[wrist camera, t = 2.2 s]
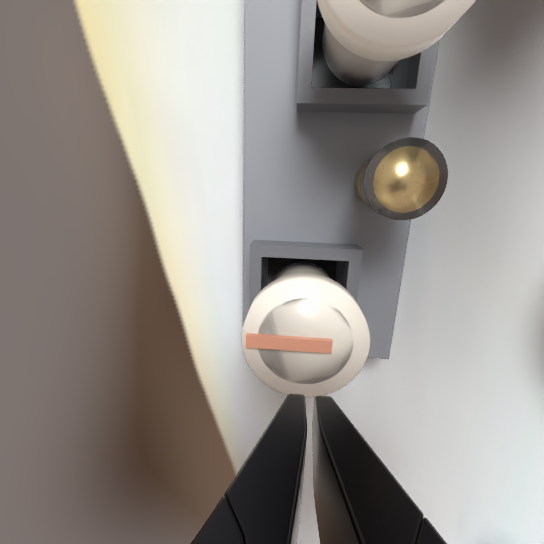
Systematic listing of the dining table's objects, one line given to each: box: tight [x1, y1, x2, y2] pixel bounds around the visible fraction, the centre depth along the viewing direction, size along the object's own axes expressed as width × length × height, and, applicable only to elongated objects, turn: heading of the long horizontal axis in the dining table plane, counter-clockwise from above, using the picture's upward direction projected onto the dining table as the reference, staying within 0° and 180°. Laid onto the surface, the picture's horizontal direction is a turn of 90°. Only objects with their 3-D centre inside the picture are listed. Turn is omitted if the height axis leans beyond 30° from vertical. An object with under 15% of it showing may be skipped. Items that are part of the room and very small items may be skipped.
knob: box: [242, 262, 370, 397], centre depth 14 cm, size 5×5×6 cm
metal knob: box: [354, 137, 448, 220], centre depth 13 cm, size 3×3×4 cm
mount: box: [243, 0, 439, 359], centre depth 15 cm, size 9×21×4 cm, turn 178°
